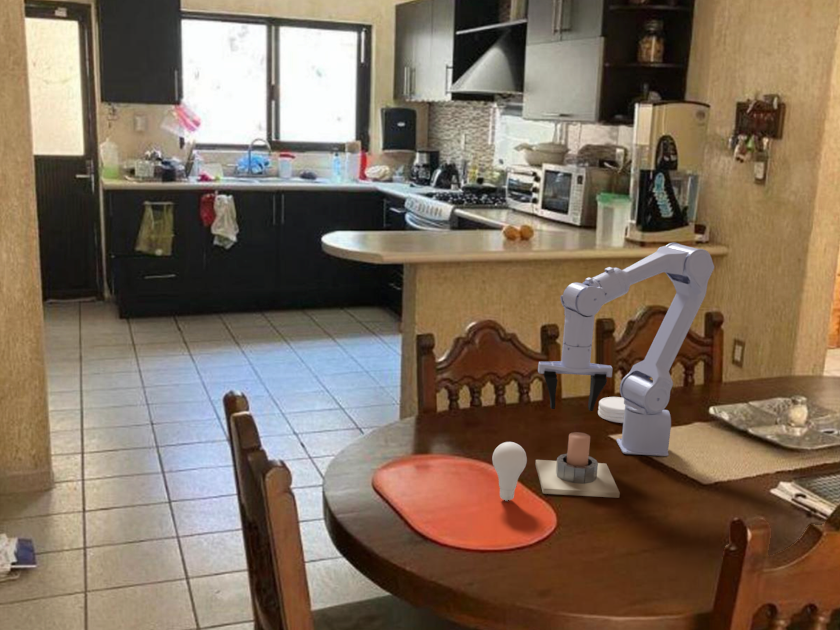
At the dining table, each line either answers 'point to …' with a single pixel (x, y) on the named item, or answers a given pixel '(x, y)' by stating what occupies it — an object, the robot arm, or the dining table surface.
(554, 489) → the socket board
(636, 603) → the dining table surface
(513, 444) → the lightbulb
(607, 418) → the coaster
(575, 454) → the peg
